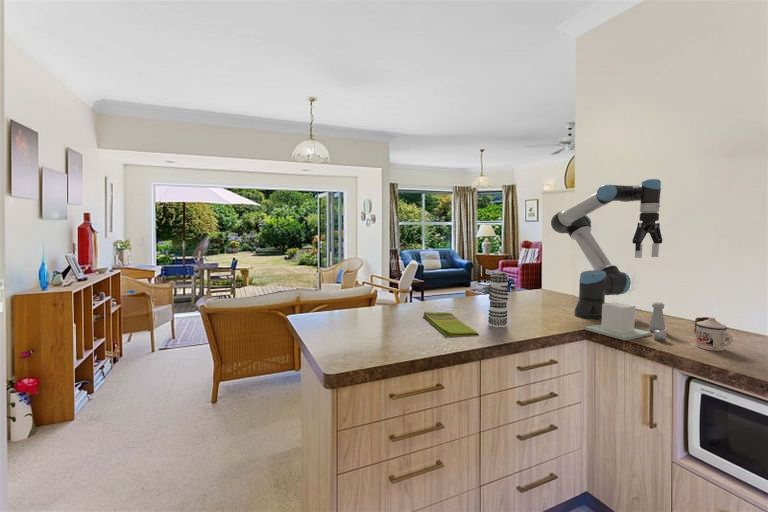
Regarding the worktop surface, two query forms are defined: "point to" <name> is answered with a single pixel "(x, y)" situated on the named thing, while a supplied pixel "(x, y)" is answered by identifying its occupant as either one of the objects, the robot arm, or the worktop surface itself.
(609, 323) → the white block
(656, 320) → the salt shaker
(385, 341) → the worktop surface
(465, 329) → the dish towel
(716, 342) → the teacup with lid
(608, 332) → the board
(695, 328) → the pottery mug
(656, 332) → the cylinder
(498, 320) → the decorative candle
